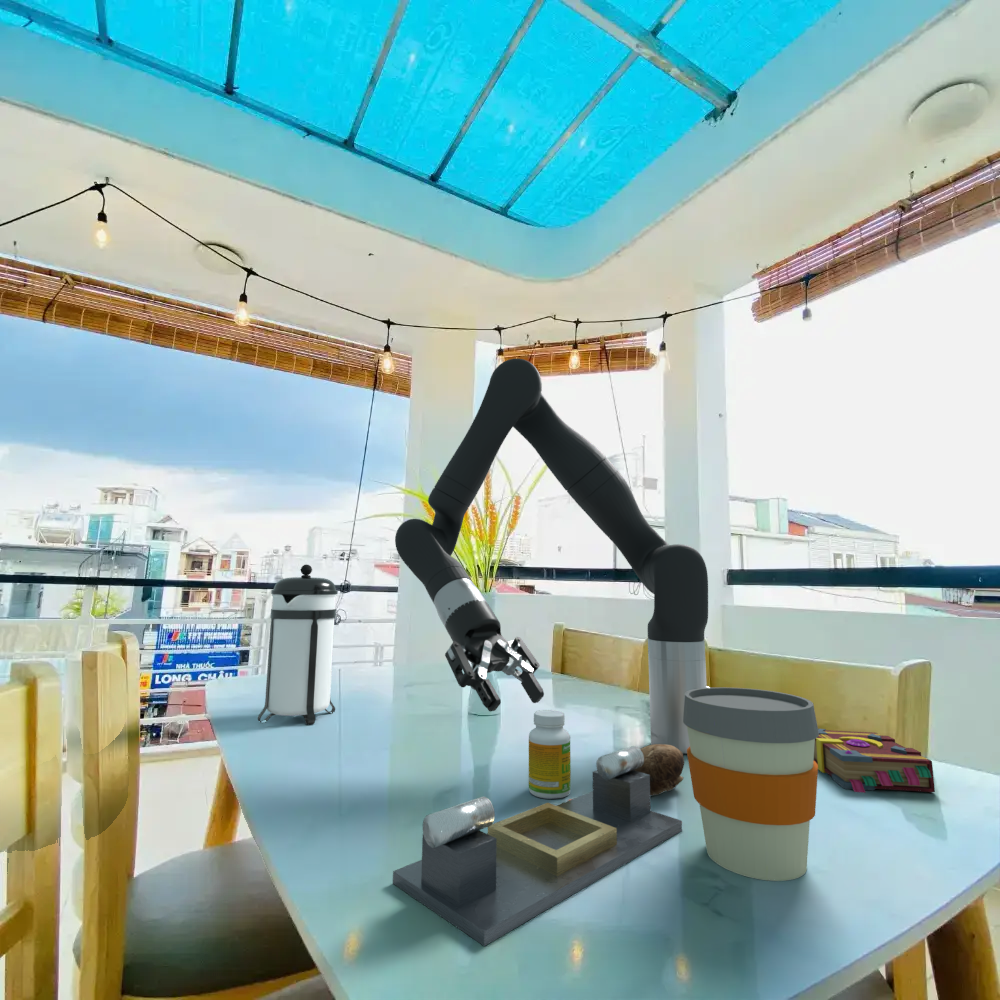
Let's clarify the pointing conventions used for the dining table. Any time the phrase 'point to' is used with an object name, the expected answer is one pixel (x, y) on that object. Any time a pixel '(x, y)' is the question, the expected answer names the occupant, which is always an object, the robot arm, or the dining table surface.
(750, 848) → the reusable coffee cup
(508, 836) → the shaft bench
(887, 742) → the decorative book
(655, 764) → the brown rough round lump
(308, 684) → the coffee press
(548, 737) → the supplement bottle
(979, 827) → the dining table surface
